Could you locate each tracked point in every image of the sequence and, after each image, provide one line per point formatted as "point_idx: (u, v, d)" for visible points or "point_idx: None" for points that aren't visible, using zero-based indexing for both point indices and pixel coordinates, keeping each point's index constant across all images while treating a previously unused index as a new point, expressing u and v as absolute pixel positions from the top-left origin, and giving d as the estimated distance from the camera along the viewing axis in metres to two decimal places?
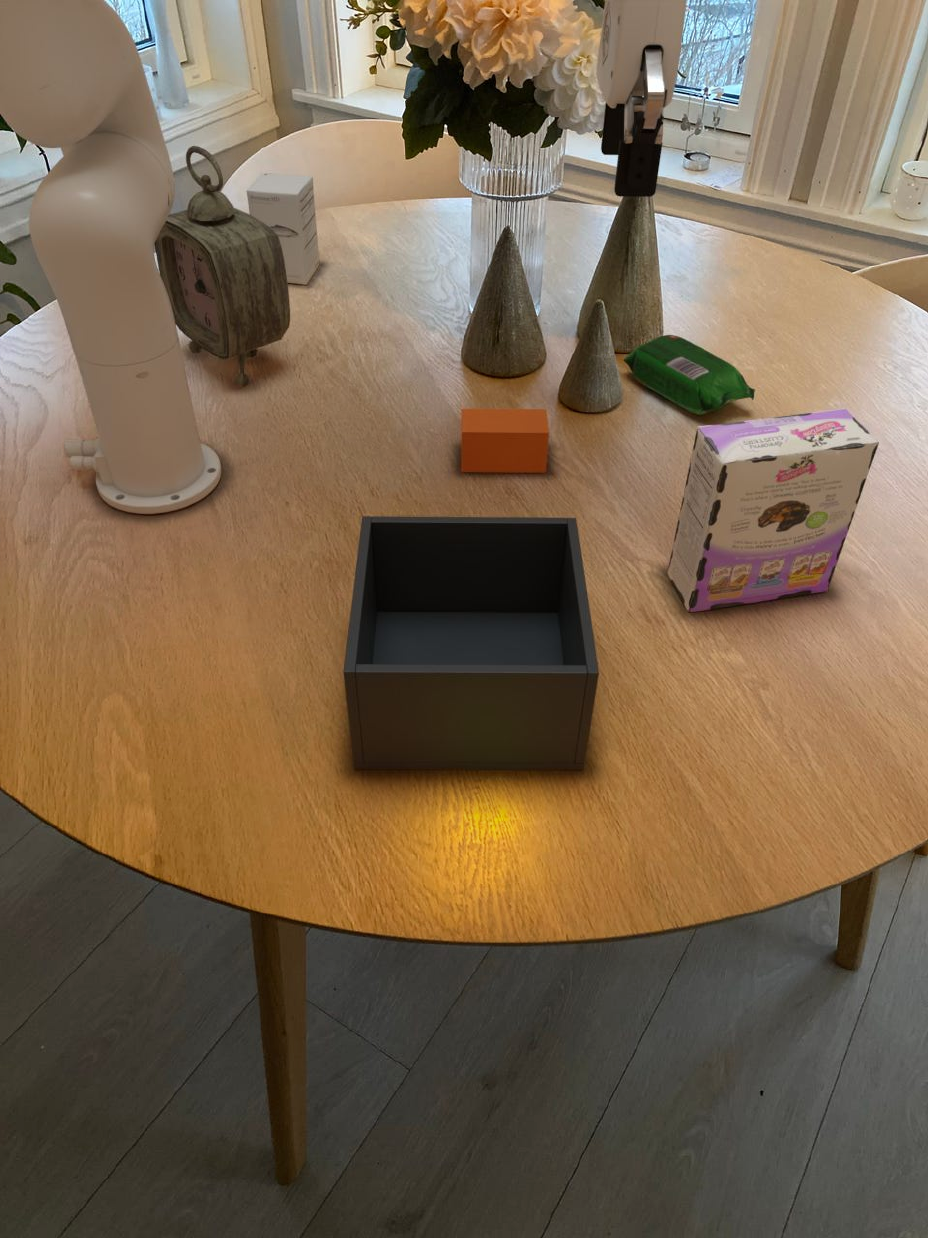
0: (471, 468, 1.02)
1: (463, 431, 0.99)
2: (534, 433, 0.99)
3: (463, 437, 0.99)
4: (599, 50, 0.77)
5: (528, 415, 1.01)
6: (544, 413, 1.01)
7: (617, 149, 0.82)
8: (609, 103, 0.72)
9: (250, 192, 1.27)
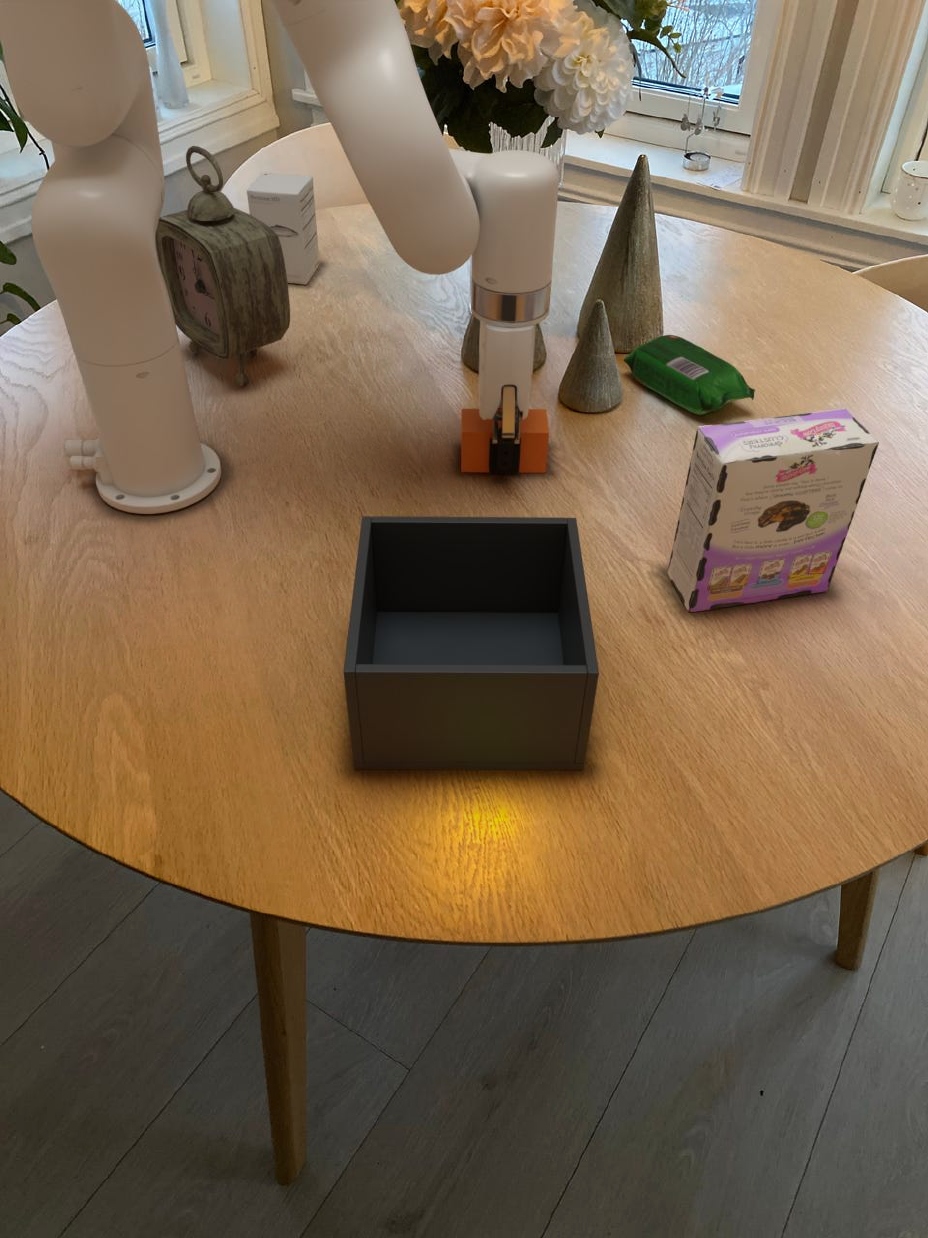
0: (471, 468, 1.02)
1: (463, 431, 0.99)
2: (534, 433, 0.99)
3: (463, 437, 0.99)
4: None
5: (528, 415, 1.01)
6: (544, 413, 1.01)
7: None
8: None
9: (250, 192, 1.27)
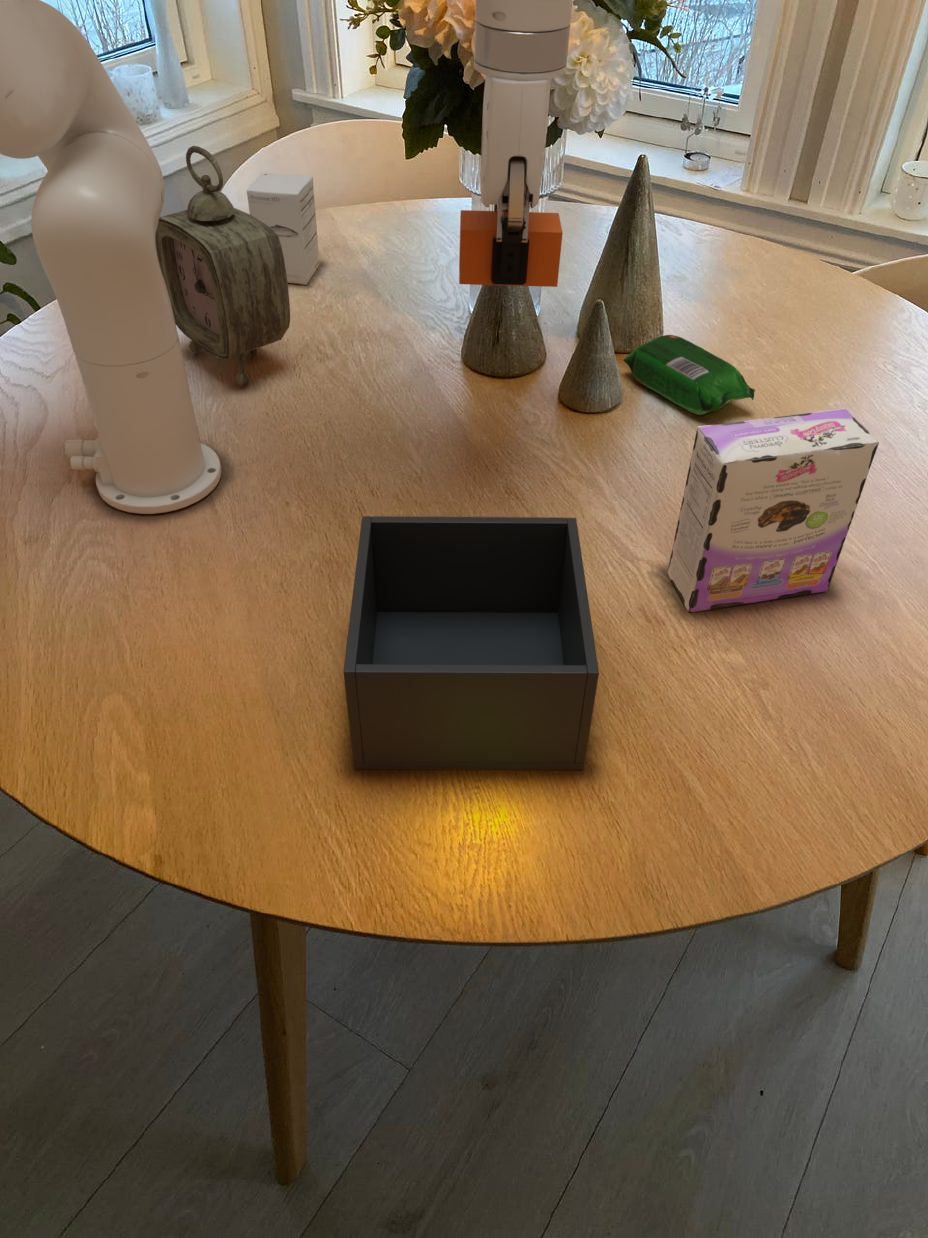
0: (471, 279, 0.87)
1: (462, 229, 0.84)
2: (545, 233, 0.85)
3: (462, 236, 0.85)
4: None
5: (538, 217, 0.87)
6: (556, 216, 0.87)
7: None
8: (483, 203, 0.81)
9: (250, 192, 1.27)
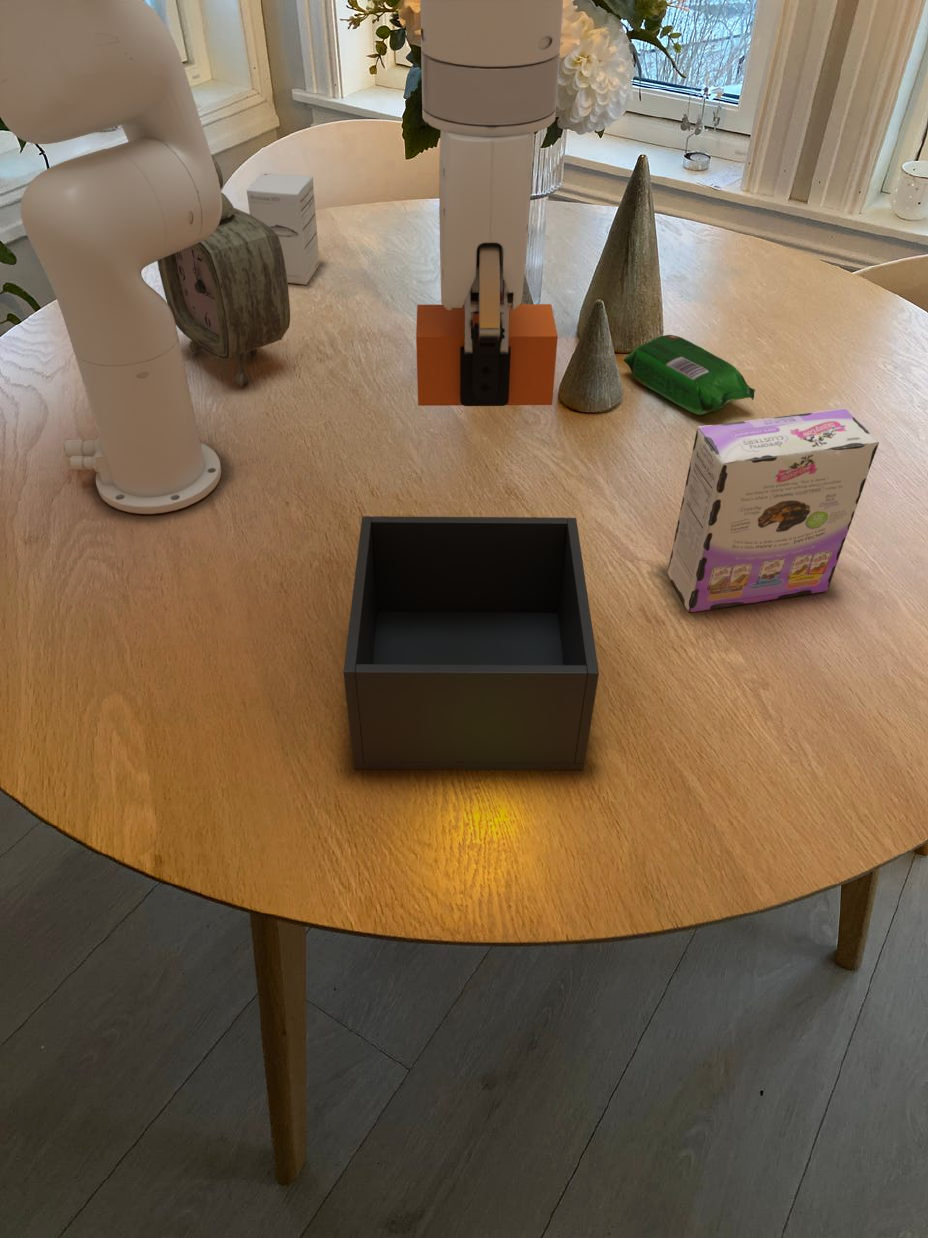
0: (434, 399, 0.64)
1: (418, 335, 0.61)
2: (534, 338, 0.61)
3: (419, 346, 0.61)
4: None
5: (523, 312, 0.63)
6: (549, 309, 0.64)
7: None
8: None
9: (250, 192, 1.27)
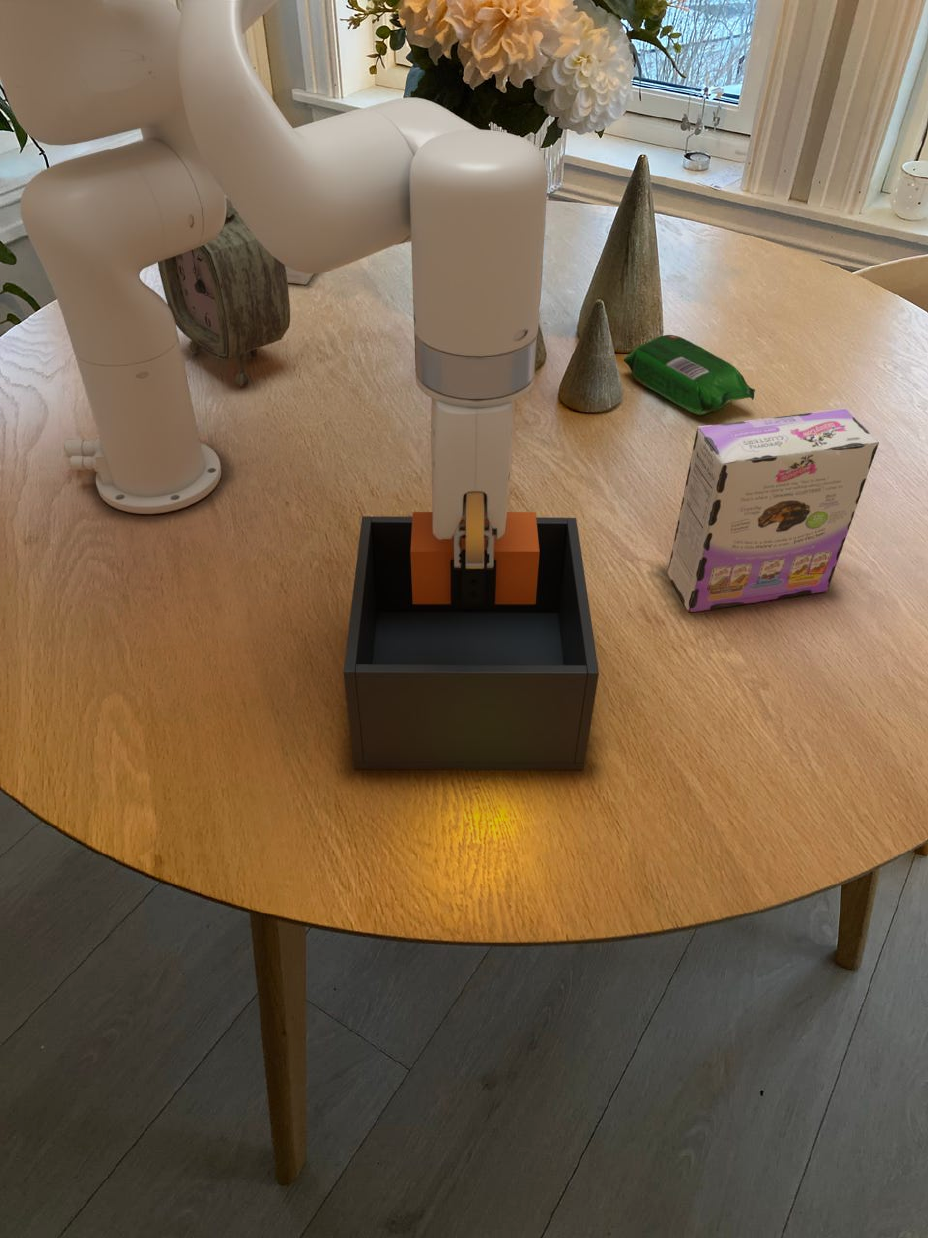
0: (427, 599, 0.70)
1: (413, 550, 0.67)
2: (518, 553, 0.67)
3: (413, 558, 0.67)
4: None
5: (509, 522, 0.69)
6: (533, 519, 0.69)
7: None
8: (434, 535, 0.63)
9: None
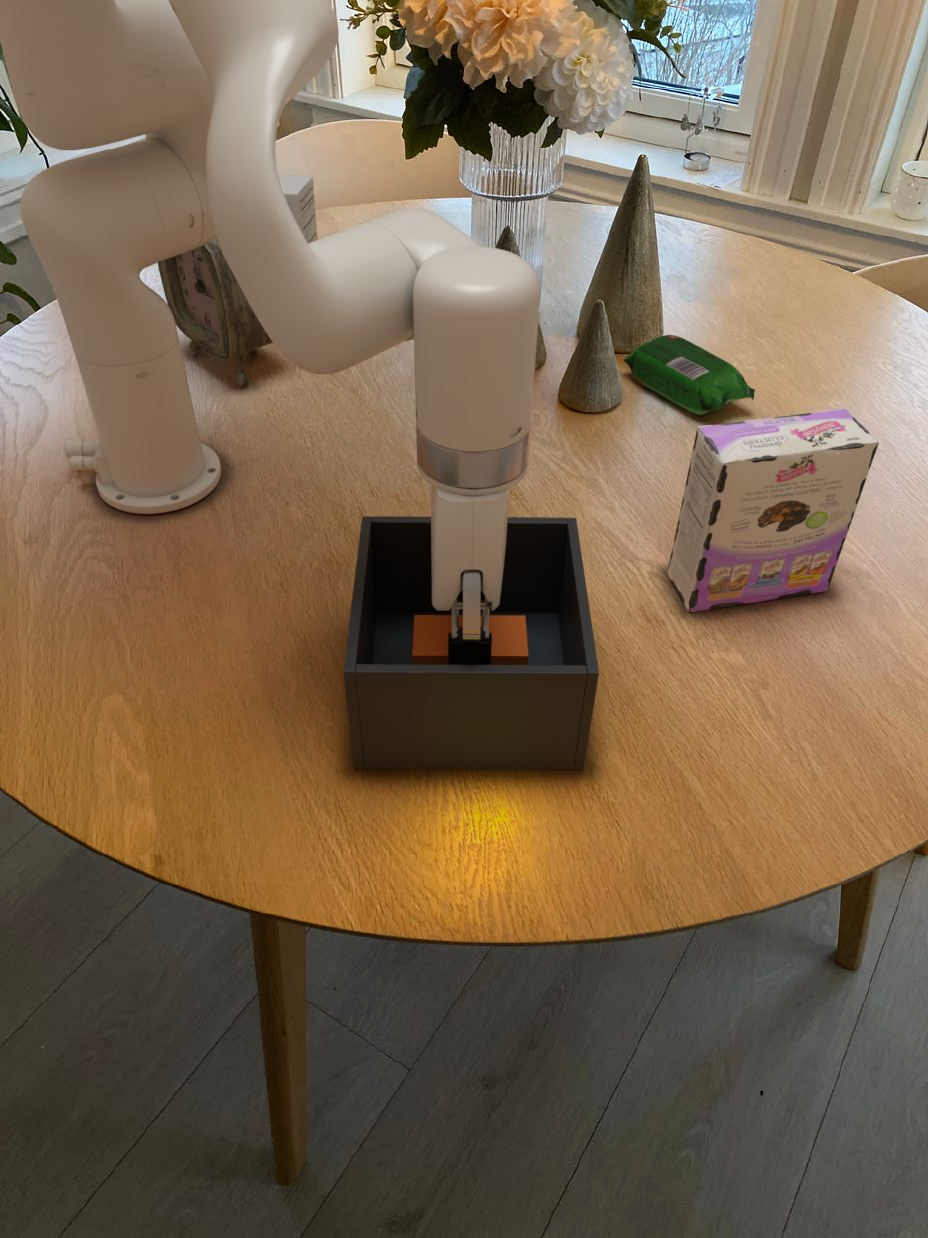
0: None
1: (414, 654, 0.74)
2: (509, 657, 0.74)
3: (414, 661, 0.74)
4: None
5: (502, 626, 0.76)
6: (523, 623, 0.77)
7: None
8: (433, 606, 0.68)
9: None
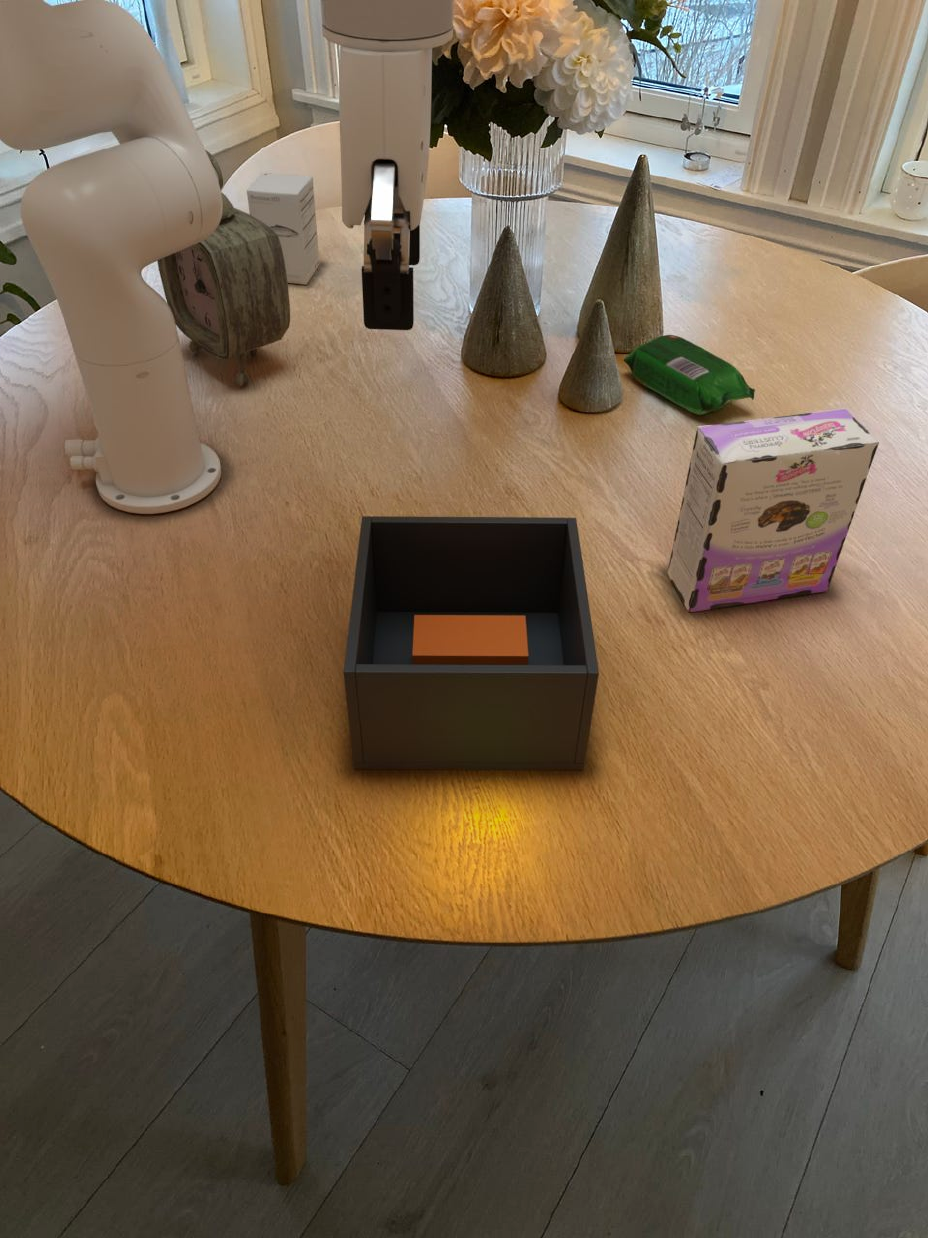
0: None
1: (414, 654, 0.74)
2: (509, 657, 0.74)
3: (414, 661, 0.74)
4: None
5: (502, 626, 0.76)
6: (523, 623, 0.77)
7: None
8: (344, 223, 0.58)
9: (250, 192, 1.27)
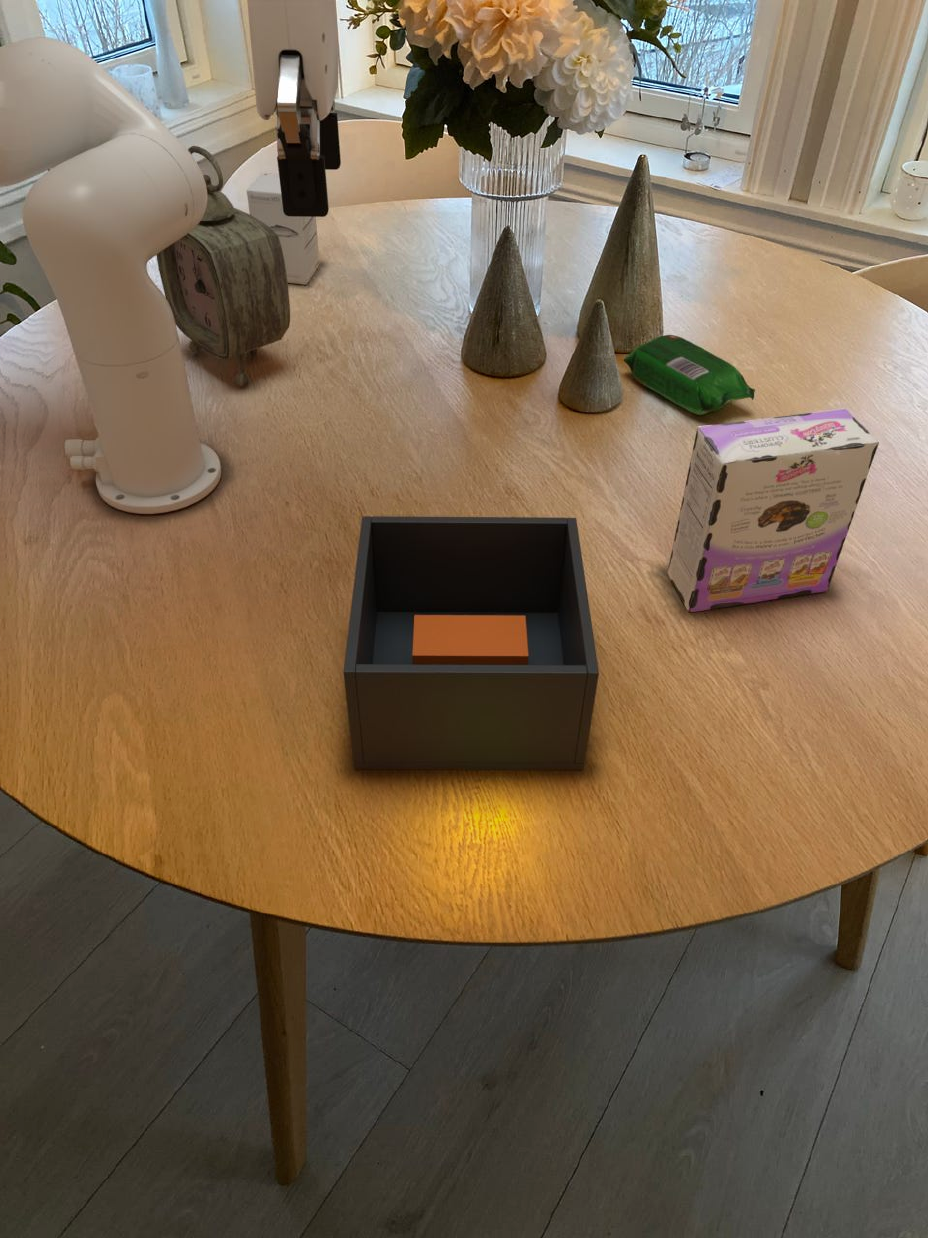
0: None
1: (414, 654, 0.74)
2: (509, 657, 0.74)
3: (414, 661, 0.74)
4: None
5: (502, 626, 0.76)
6: (523, 623, 0.77)
7: None
8: (259, 114, 0.65)
9: (250, 192, 1.27)
